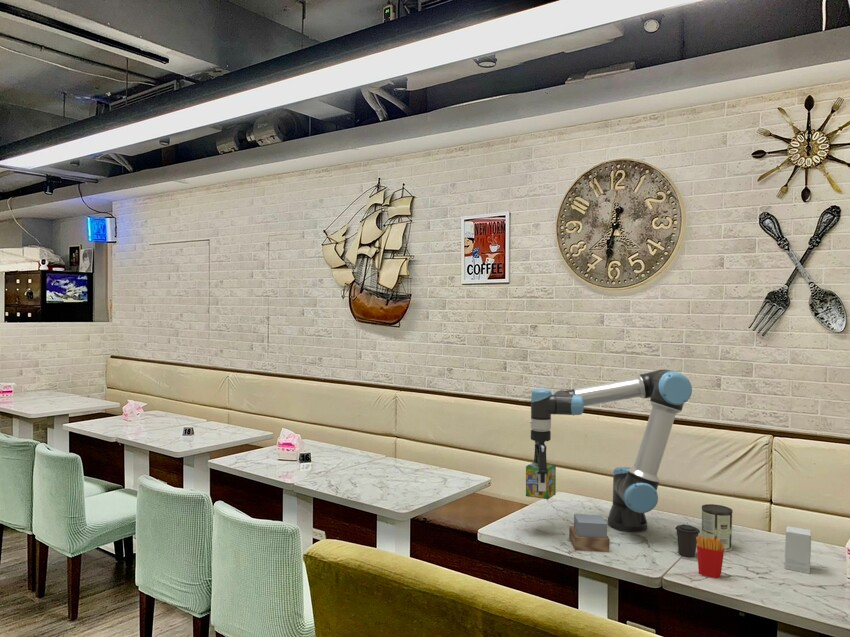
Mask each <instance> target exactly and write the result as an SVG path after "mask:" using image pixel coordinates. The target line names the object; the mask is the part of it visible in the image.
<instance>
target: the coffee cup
mask: <svg viewBox="0 0 850 637" xmlns="http://www.w3.org/2000/svg"><path fill="white" fill-rule="evenodd" d="M675 530H676V540H677V550H678V551H677V552H678V555H679V556H680V557H683V558H688V559H693V558H695V557H696V554H697V540H696V537H698V538H699V533H701V530H700V529H699V528H698V527H695V526H694V525H693V526H692V525H689V524H685V523H684V524H678V525H676V527H675Z"/></svg>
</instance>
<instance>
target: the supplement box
mask: <svg viewBox="0 0 850 637" xmlns="http://www.w3.org/2000/svg"><path fill="white" fill-rule="evenodd" d="M784 542H785V545H784V569H785V570H789V571H790V570H791V571H794V572H799V573H805V574H810V572H811V552H812V530H811V529H806V528H801V527H793V526H789V525H787V526H786V529H785V540H784Z"/></svg>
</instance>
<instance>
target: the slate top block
mask: <svg viewBox="0 0 850 637" xmlns="http://www.w3.org/2000/svg"><path fill="white" fill-rule="evenodd" d="M604 518H605V517H604V516H603V515H601V514H588V513H587V514H586V513H585V514H584V513H583V514H582V513H574V514H573V526H574V529H575V531H576V533H577V535H578V537H594V538H607V536H608V522H607V521H606V520H605V519H604Z"/></svg>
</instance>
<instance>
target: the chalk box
mask: <svg viewBox="0 0 850 637" xmlns="http://www.w3.org/2000/svg"><path fill="white" fill-rule="evenodd" d="M556 467H557V465H555V464H550V463H547V474H546V491H538V474H537V472H539V462H538V457H537V463H536V462H534V461H533V462H532V463H530V464H527V465H526V466H525V497H528V498H537V499H543V500H549V499H551V498H552V497H554V496H556V493H557V492H556V490H557V489H556V487H557V486H556V485H557V483H556V480H557V477H556V474H557V473H556V471H557V470H556V469H557V468H556Z"/></svg>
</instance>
